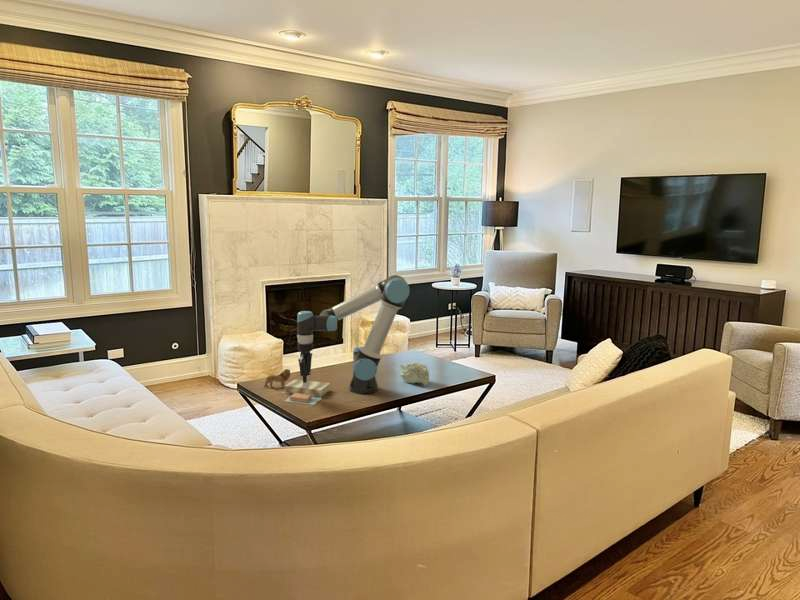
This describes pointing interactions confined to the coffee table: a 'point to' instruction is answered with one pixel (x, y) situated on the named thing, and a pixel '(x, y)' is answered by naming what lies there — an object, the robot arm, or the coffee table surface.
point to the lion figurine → (278, 378)
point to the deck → (314, 388)
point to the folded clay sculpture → (415, 373)
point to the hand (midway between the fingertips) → (305, 388)
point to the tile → (300, 397)
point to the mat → (310, 402)
